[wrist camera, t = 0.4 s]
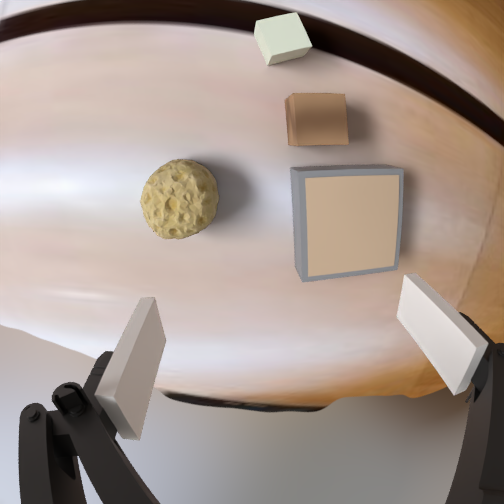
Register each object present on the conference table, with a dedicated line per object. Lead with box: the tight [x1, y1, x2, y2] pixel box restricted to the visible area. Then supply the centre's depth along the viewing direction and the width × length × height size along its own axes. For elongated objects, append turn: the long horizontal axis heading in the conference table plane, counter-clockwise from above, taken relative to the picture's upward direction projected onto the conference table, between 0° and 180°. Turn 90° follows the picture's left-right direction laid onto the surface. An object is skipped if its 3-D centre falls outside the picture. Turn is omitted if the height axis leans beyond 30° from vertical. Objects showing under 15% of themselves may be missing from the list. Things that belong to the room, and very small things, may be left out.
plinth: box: [290, 165, 403, 282], centre depth 37 cm, size 14×14×5 cm
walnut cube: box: [285, 93, 349, 146], centre depth 32 cm, size 6×6×6 cm
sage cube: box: [254, 12, 312, 66], centre depth 29 cm, size 5×5×5 cm
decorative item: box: [140, 159, 219, 239], centre depth 35 cm, size 10×10×10 cm
